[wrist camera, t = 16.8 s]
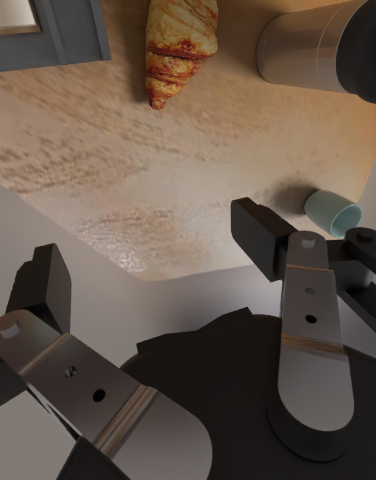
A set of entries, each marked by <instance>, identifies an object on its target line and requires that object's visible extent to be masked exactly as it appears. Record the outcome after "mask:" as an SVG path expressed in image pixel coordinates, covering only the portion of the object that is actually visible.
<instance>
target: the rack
mask: <svg viewBox="0 0 376 480" xmlns="http://www.w3.org/2000/svg"><path fill="white" fill-rule="evenodd" d="M33 4H34V7H35V10H36V13H37V16H38V20H39V23H40V26H41V29H42V32H39V33H28V34H17V35H5V36H0V72H3V71H12V70H20V69H29V68H38V67H47V66H56V65H68V64H74V63H82V62H91V61H100V60H103V61H104V60H112V59H111V54H110V49H109V44H108V39H107V35H106V30H105V25H104V20H103V15H102V10H101V6H100V1H99V0H33Z"/></svg>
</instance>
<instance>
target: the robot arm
mask: <svg viewBox="0 0 376 480" xmlns="http://www.w3.org/2000/svg"><path fill="white" fill-rule="evenodd" d="M256 62H257V67H258V70H259V72H260V74H261V75H262V77H263V78H264V79H265V80H266V81H267V82H270V83H272V84H280V85H286V86H293V87H301V88H309V89H316V90H324V91H332V92H340V93H348V94H356V95H358V96H359V97H360V98H361V99H363V100H365V101H367V102H370V103H374V104H376V0H352V1H347V2H343V3H338V4H333V5H328V6H324V7H319V8H314V9H309V10H304V11H299V12H294V13H290V14H285V15H281V16H278V17H276V18H275V19H273V20H272V21H271V22H270V23H269V24H268V25H267V26H266V27H265V29H264V30H263V32H262V34H261V36H260V39H259V42H258V45H257V51H256ZM231 233H232V236H233V238H234V240H235V241H236V243H237V244H238V245H239V246H240V247H241V248H242V250H243V251H244V252H245V253H246V254H247V255H248V257H249V258H250V259H251V260H252V261H253V262H254V264H255V265H256V266H257V267H258V268H259V269H260V271H261V272H262V273H263V274H264V275H265V276H266V278H267V279H268V280H269V281H270V282H274V281H277V280H280V279H281V280H282V281H283V283H282V292H281V302H280V313H279V317H275V316H271V315H263V314H262V315H261V314H254V315H253V314H252V313H251V311H250V310H249V308H248V307H245V308H242V309H239V310H236V311H233V312H230V313H227V314H224V315H221V316H220V317H218V318H216V319H215V320H213V321H212V322H210V323H208V324H207V325H205V326H204V327H202V328H200V329H198V330H196V331H189V332H179V333H169V334H164V335H161V336H158V337H155V338H152V339H149V340H146V341H142V342H140V343H137V349H138V353H137V354H136V355H134V356H133V357H131V358H130V359H129V360H127V361H126V362H125V363H124V364H123V365H122V366H121V367H120V368H118V367H117V366H115V365H114V364H113V363H111V362H110V361H108V360H107V359H106V358H104V357H103V356H101V355H100V354H99V353H97V352H95V351H94V350H93V349H91V348H90V347H89V346H87V345H86V344H84V343H83V342H82V341H80V340H79V339H77V338H76V337H75V336H73V335H72V334H70V315H71V278H70V274H69V271H68V269H67V267H66V264H65V262H64V260H63V258H62V255H61V253H60V251H59V249H58V246H57V245H56V244H55V243H52V244H48V245H44V246H40V247H36V248H35V250H34V255H33V259H32V261H28V262H25V263H24V264H23V265H22V266H21V267H20V269H19V270H18V271H17V274H16V277H15V282H14V284H13V290H12V291H11V295H10V298H9V301H8V305H7V308H6V312H5V314H4V315H3V316H1V317H0V406H1V405H3V404H4V403H6V402H8V401H9V400H11V399H12V398H14V397H16V396H17V395H19V394H20V393H22V392H23V391H26V392H27V393H28V394H29V395H30V396H31V397H32V398H33V399H34V400H35V401H36V402H37V403H38V404H39V405H40V406H41V407H42V408H43V409H44V410H45V411H46V412H47V413H48V414H49V415H50V416H51V417H52V418H53V419H54V420H55V421H56V422H57V423H58V424H59V426H60V427H61V428H62V429H63V430H64V431H65V432H66V433H67V434H68V436H69V437H70V438H71V439H72V440H73V441H74V442H75V443H76V444H75V445H74V447H73V449H72V451H71V453H70V455H69V457H68V458H67V460H66V462H65V464H64V466H63V468H62V469H61V471H60V473H59V475H58V477H57V479H56V480H376V358H374V357H372V356H369V355H367V354H365V353H362V352H360V351H358V350H355V349H353V348H351V347H348V346H346V345H344V344H343V342H342V333H341V325H340V316H339V308H338V299H337V295H338V296H339V297H340V298H342V299H343V301H344V302H345V303H346V304H348V306H349V307H350V308H351V309H352V310H353V311H354V312H356V314H357V315H358V316H360V318H361V319H362V320H363V321H364V322H365V323H366V324H367V325H368V326H369V327H370V328H371V329H372V330H373V331H375V333H376V284H374V283H373V282H372V281H371V280H372V278H373V275H374V273H375V274H376V231H375V230H372V229H369V228H363V227H356V228H351V229H349V230H347V231H346V233H345V237H344V239H343V240H326V239H325V238H324V237H323V236H322V235H320V234H318V233H316V232H312V231H305V230H304V231H298V230H297V229H296V228H294V227H293V226H292V225H290V224H289V223H288V222H287V221H285V220H284V219H283V218H281V217H280V216H279V215H278V214H276V213H275V212H274V211H273V210H271V209H270V208H268V207H265V206H263V205H260V204H259V205H257V204H256V203H255V202H253V201H252V200H251V199H250V198H248V197H245V198H241V199H237V200H233V201H232V202H231Z"/></svg>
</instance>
